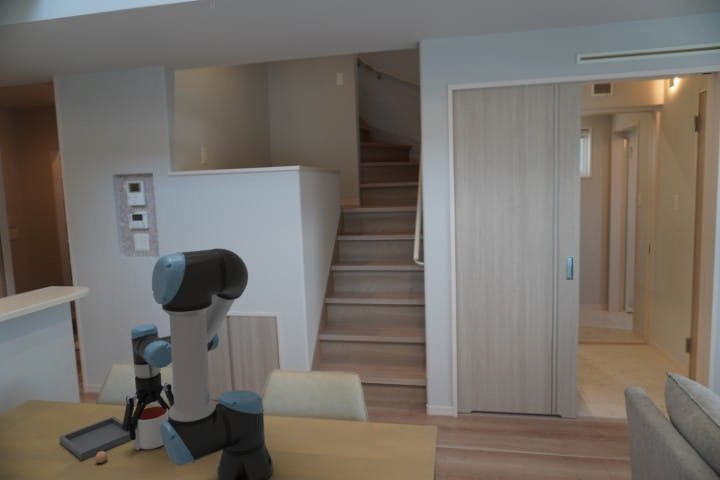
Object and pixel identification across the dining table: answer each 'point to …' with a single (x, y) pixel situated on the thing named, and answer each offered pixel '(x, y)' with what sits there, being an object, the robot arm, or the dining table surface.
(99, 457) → the ball
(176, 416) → the robot arm
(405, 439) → the dining table surface
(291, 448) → the dining table surface
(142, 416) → the cup
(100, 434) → the tray
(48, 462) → the dining table surface
